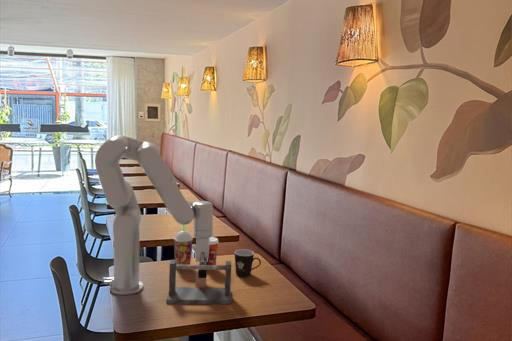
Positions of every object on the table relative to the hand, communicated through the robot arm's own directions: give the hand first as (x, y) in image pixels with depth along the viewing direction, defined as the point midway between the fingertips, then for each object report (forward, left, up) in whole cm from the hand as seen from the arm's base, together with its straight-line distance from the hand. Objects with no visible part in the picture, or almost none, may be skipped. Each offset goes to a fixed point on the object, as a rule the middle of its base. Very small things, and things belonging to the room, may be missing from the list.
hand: (203, 272), depth 174 cm
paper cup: (+2, +19, -6) cm, 20 cm away
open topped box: (-1, 0, -6) cm, 6 cm away
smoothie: (-10, +20, -6) cm, 23 cm away
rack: (-1, -10, -6) cm, 12 cm away
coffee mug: (+18, +12, -6) cm, 23 cm away
